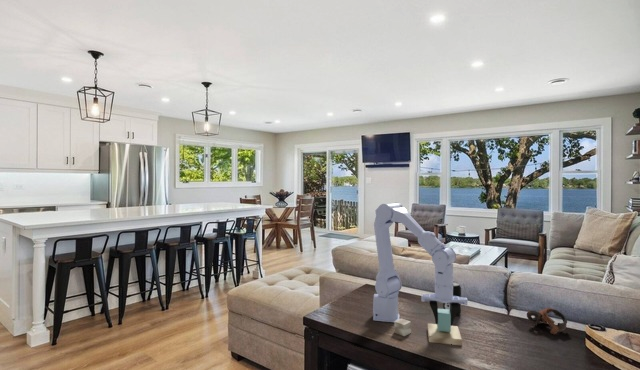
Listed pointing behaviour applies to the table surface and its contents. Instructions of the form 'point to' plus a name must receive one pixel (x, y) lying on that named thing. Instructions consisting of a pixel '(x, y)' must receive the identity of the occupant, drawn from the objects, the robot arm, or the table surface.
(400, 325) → the cream cube
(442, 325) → the teal block
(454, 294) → the beverage can
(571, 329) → the table surface
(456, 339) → the cream square slab
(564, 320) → the rusty metal shackles
